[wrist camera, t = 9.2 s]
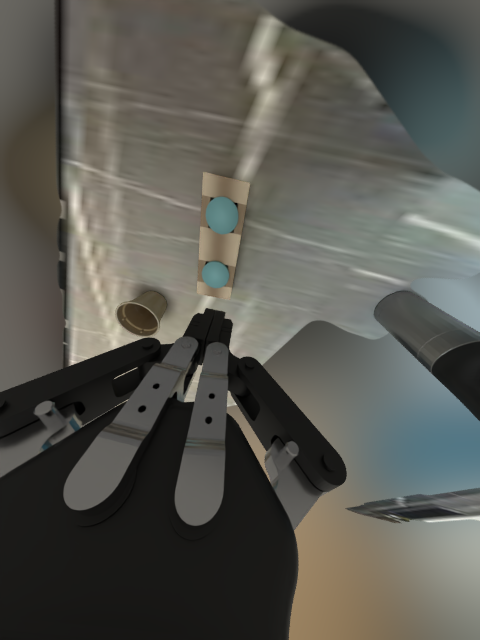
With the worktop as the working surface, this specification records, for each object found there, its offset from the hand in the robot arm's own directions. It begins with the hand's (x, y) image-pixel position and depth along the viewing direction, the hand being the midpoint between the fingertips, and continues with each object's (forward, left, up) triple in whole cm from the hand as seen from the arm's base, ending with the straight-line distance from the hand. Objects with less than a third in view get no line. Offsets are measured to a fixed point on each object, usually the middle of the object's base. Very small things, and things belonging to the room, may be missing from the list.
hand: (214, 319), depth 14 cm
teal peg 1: (+3, -5, -28) cm, 29 cm away
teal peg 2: (+3, +5, -28) cm, 29 cm away
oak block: (+3, 0, -28) cm, 28 cm away
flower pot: (+18, +18, -28) cm, 38 cm away
